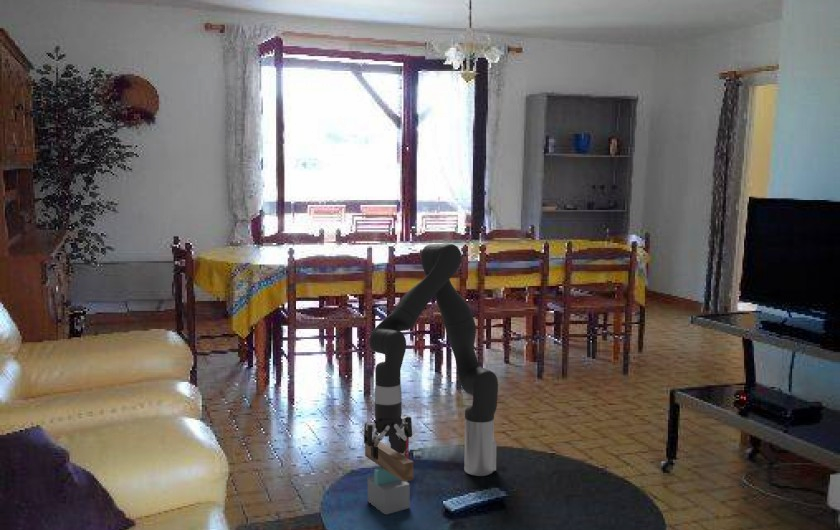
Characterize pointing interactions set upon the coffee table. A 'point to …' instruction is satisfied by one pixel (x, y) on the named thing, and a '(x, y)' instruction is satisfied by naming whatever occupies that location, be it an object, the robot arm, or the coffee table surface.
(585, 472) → the coffee table surface
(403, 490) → the balance stand
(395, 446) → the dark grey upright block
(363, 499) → the coffee table surface
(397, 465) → the walnut beam
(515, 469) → the coffee table surface
